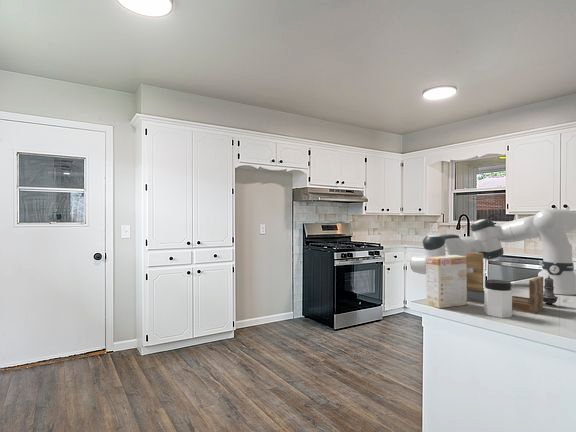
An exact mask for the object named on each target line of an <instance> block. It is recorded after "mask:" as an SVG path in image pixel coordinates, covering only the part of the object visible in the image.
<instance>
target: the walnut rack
mask: <svg viewBox="0 0 576 432" xmlns="http://www.w3.org/2000/svg"><path fill="white" fill-rule="evenodd" d="M528 291H529V297H525V296H524V297H523V296H518V295H512V298H519V299H526V300H528V302H529V304H525V303H519V302H512V311H515V312H521V313H527V314H536V313H537V312H540V311H541V310H542V309H544V306H543V303H544V302H543V294H544V292H543V277H540V276H539V277H538V276H537V277H535V278H532V279H529V290H528Z"/></svg>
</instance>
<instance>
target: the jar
mask: <svg viewBox="0 0 576 432" xmlns="http://www.w3.org/2000/svg"><path fill="white" fill-rule="evenodd" d="M483 290H484V302H483V304H484V305H483V307H484V309H483V311H484V313H485V314H486V315H487V316H490V317H495V318H502V319H503V318H512V317H513V310H512V296H513V290H512V282H511V281H508V280H502V279H486V280H484V286H483Z"/></svg>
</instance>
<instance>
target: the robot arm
mask: <svg viewBox="0 0 576 432" xmlns="http://www.w3.org/2000/svg"><path fill="white" fill-rule="evenodd" d="M496 225H497V222H494V221H493V220H491V219H485V218H484V219H483V218H482V219H478V220H476V221H474V222H473V223H472V224H471V225H470V228H471V229H470V230H471V232H472V234H473V237H472V236H470V235H469V236H461V237H460V236H459V235H457V234H453V233H451V234H450V233H449V234H435V233H434V234H429V235H426V236H425V237H424V238H423V239H422V246H423V252H424V255H413V256H412V257H411V258H410V262H409V264H410V269H411V271H412V272H414V273H417V274H419V275H420V274H421V275H426V276H427V273H426V257H429V256H446V252H447V255H459V256H466V253H467V252H472V253H483V260H497V259H499V258H501V257H503V255H504V254H505V253H504V247H503V246H502V243H515V242H516V243H517V242H522V241H526V240H531V239H535V238H536V239H537V238H540V239H541V243H542V251H543V252H542V259H543V260H542V262H541V268H542V269H541V271H539V272H538V276H537V277H539V276H540V277H543V286H545V278H548V276H550V278H552V279H553V287H554V295H555V294H556V295H567V296H568V295H569V296H571V295H572V296H574V295H576V274H575V272H574V270H575V269H574V268H575V266H574V265H575V264H574V262H573V246H572V244H571V242H570V241H569V238H568V235H567V233H571V232H573V231H575V230H576V212H575V211H574V210H570V209H559V208H557V209H556V208H553V209H551V208H548V209H544V210H541V211H539V212H537V213H536V214H534V215H528V216H525V217H521V218H518V219H514V220H510V221H507V222H505V223H502V224H500V225H497V226H496ZM501 242H502V243H501ZM474 272H475V269H474V268H467V273H474ZM543 293H544V287H543Z"/></svg>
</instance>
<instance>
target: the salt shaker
mask: <svg viewBox="0 0 576 432" xmlns="http://www.w3.org/2000/svg"><path fill="white" fill-rule="evenodd" d="M543 287H544V292H543V307H546V308H558V305H556V303H557V301H558V299H559V297H558V296H556V295H555V294H554V287H553V279H552V278H550V276H548V278H545V286H543Z"/></svg>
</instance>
